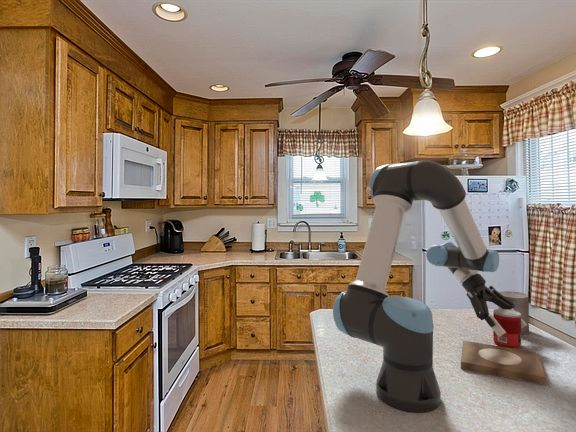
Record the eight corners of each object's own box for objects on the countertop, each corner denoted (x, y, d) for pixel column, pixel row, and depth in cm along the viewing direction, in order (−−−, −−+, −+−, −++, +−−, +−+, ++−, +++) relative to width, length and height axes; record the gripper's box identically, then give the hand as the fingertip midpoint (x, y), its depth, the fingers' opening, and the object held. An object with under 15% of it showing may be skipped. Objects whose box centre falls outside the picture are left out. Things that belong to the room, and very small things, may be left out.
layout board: (460, 368, 100) (460, 360, 100) (463, 346, 115) (463, 339, 115) (546, 384, 90) (546, 376, 90) (536, 358, 106) (536, 351, 106)
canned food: (525, 349, 112) (525, 316, 112) (498, 347, 114) (498, 314, 114) (515, 340, 120) (515, 309, 120) (489, 339, 121) (490, 308, 121)
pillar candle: (514, 325, 136) (514, 287, 136) (535, 333, 126) (535, 293, 126) (492, 326, 135) (491, 288, 134) (511, 335, 125) (511, 294, 125)
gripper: (481, 280, 137) (523, 329, 124) (442, 288, 124) (484, 343, 111) (495, 269, 132) (540, 318, 119) (456, 276, 119) (501, 332, 106)
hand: (513, 330), depth 115 cm, fingers open, 13 cm apart
